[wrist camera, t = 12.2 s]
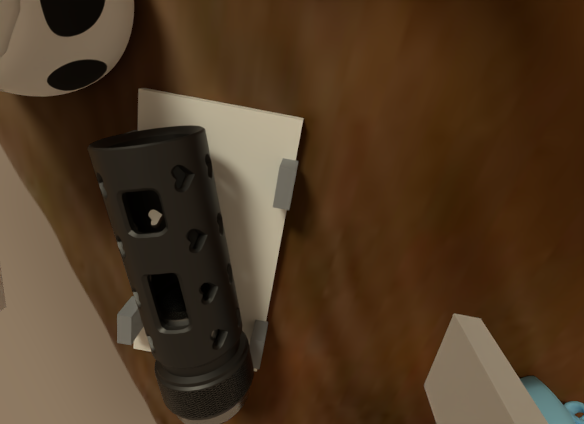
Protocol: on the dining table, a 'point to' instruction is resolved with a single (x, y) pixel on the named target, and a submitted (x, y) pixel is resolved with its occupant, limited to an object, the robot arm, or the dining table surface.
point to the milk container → (60, 43)
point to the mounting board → (234, 197)
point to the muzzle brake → (178, 266)
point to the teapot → (552, 403)
